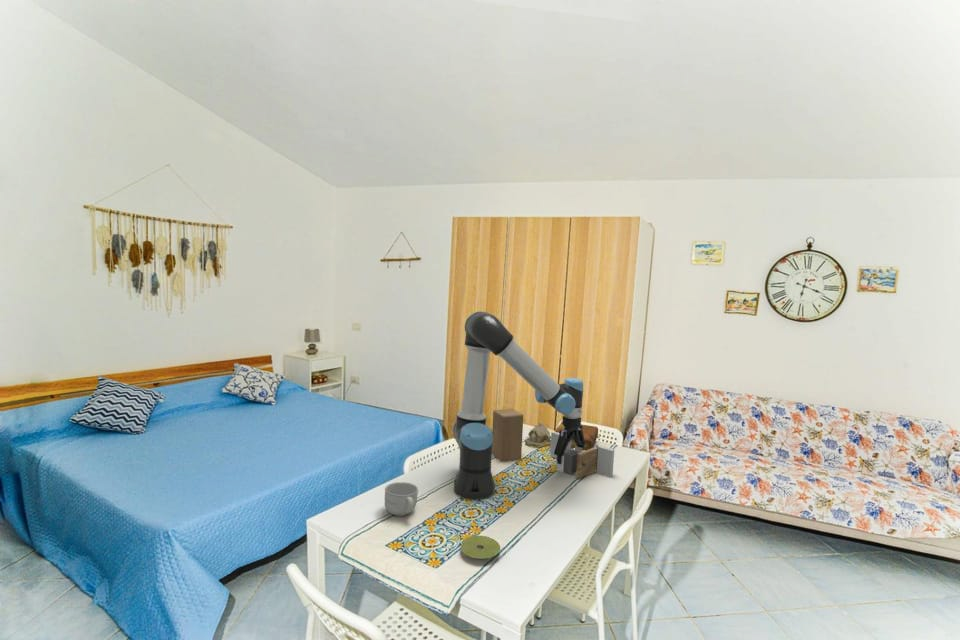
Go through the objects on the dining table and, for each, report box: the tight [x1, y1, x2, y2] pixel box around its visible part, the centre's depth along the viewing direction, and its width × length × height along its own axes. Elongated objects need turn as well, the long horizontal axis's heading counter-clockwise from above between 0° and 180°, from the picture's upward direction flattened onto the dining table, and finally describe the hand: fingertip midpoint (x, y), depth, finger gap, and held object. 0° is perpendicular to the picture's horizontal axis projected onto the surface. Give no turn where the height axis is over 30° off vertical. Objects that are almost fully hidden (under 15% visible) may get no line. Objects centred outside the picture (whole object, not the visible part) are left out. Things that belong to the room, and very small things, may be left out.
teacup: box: [384, 481, 419, 517], centre depth 150 cm, size 14×11×8 cm
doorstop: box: [562, 448, 580, 476], centre depth 190 cm, size 6×6×8 cm
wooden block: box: [491, 408, 524, 463], centre depth 202 cm, size 10×10×20 cm
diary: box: [554, 421, 599, 451], centre depth 227 cm, size 23×19×6 cm
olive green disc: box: [460, 535, 501, 559], centre depth 130 cm, size 11×11×2 cm
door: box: [575, 444, 599, 480], centre depth 186 cm, size 2×13×11 cm, turn 131°
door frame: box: [549, 431, 615, 478], centre depth 195 cm, size 2×29×11 cm, turn 47°
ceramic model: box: [524, 422, 551, 448], centre depth 221 cm, size 14×11×10 cm
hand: (568, 466), depth 190 cm, fingers open, 13 cm apart
